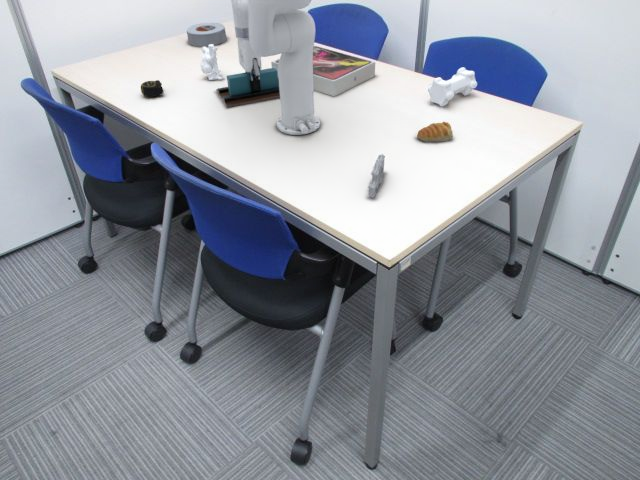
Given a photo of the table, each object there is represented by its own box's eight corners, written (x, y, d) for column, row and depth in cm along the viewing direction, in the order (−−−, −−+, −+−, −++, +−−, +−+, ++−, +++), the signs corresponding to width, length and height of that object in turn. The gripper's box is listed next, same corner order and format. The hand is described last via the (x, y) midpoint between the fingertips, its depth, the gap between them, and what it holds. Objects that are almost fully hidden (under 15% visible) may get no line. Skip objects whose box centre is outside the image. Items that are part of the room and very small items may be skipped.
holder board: (293, 95, 172) (292, 89, 171) (227, 108, 166) (226, 101, 165) (279, 80, 182) (279, 74, 181) (216, 91, 176) (215, 85, 175)
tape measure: (164, 97, 174) (162, 86, 172) (143, 100, 172) (140, 89, 170) (162, 89, 179) (160, 78, 177) (141, 92, 177) (139, 81, 175)
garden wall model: (374, 199, 124) (375, 177, 121) (367, 198, 125) (367, 176, 121) (384, 173, 133) (386, 152, 130) (377, 172, 134) (378, 151, 130)
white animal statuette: (228, 78, 185) (223, 43, 177) (211, 84, 181) (206, 48, 174) (216, 72, 190) (210, 38, 182) (199, 77, 186) (193, 42, 179)
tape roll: (183, 46, 213) (180, 33, 210) (196, 34, 225) (194, 21, 221) (219, 47, 211) (218, 34, 207) (231, 35, 222) (229, 22, 219)
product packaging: (314, 58, 198) (313, 45, 195) (374, 76, 183) (375, 61, 180) (272, 76, 186) (271, 61, 183) (333, 96, 171) (333, 81, 168)
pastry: (423, 145, 144) (424, 133, 141) (412, 135, 149) (413, 122, 146) (454, 140, 146) (456, 127, 143) (442, 129, 151) (443, 117, 149)
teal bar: (231, 97, 170) (228, 78, 167) (229, 93, 173) (226, 75, 169) (278, 88, 175) (277, 70, 171) (275, 85, 177) (274, 67, 173)
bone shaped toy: (454, 88, 173) (458, 63, 168) (476, 96, 168) (481, 71, 163) (424, 102, 166) (427, 76, 161) (446, 110, 160) (450, 84, 155)
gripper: (228, 25, 167) (235, 82, 178) (243, 41, 155) (250, 100, 166) (251, 22, 169) (257, 78, 180) (267, 37, 157) (272, 96, 168)
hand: (253, 88), depth 173 cm, fingers open, 4 cm apart
